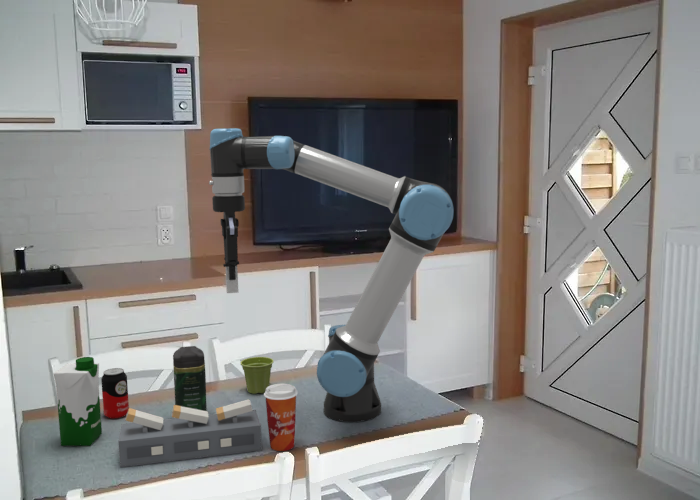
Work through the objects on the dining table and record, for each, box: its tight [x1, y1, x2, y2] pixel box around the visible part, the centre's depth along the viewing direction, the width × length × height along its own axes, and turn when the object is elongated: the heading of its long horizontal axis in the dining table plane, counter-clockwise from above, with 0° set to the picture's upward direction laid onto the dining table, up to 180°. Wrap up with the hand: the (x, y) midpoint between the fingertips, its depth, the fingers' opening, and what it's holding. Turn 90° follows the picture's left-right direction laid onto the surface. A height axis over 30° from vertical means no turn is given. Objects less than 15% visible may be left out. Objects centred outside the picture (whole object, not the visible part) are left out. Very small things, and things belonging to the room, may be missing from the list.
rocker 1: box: [125, 407, 164, 430], centre depth 156 cm, size 8×4×2 cm, turn 105°
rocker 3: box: [215, 399, 254, 421], centre depth 161 cm, size 8×4×2 cm, turn 104°
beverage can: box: [100, 367, 130, 420], centre depth 180 cm, size 6×6×12 cm
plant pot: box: [239, 356, 275, 395], centre depth 197 cm, size 9×9×9 cm
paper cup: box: [263, 383, 299, 452], centre depth 160 cm, size 8×8×14 cm
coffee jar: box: [172, 345, 208, 411], centre depth 177 cm, size 10×8×19 cm
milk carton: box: [52, 356, 103, 447], centre depth 164 cm, size 9×9×20 cm
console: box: [117, 409, 263, 468], centre depth 159 cm, size 31×10×7 cm, turn 104°
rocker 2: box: [171, 404, 209, 424], centre depth 158 cm, size 8×4×2 cm, turn 105°
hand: (232, 292), depth 167 cm, fingers closed
